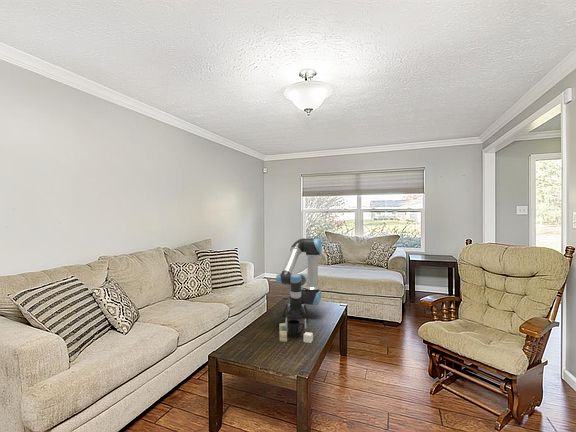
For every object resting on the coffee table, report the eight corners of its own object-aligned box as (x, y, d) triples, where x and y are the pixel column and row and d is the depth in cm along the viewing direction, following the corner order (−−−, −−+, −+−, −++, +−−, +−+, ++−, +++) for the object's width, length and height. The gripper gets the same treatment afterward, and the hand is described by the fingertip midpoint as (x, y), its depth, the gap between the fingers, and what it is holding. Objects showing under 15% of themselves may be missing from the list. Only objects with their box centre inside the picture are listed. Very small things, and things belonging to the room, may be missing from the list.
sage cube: (279, 330, 220) (279, 323, 219) (285, 329, 221) (285, 322, 221) (281, 332, 215) (281, 326, 215) (287, 332, 216) (287, 325, 216)
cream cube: (305, 339, 204) (305, 331, 204) (312, 340, 202) (312, 332, 202) (303, 342, 199) (303, 334, 199) (310, 343, 197) (310, 335, 197)
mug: (301, 339, 203) (301, 325, 203) (285, 336, 209) (285, 322, 209) (306, 334, 211) (306, 321, 211) (291, 332, 216) (291, 318, 216)
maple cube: (279, 338, 205) (279, 331, 205) (286, 338, 205) (286, 331, 205) (279, 341, 200) (279, 334, 200) (287, 341, 200) (287, 334, 200)
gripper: (277, 297, 207) (277, 328, 207) (313, 299, 204) (313, 330, 204) (279, 295, 215) (279, 324, 215) (313, 296, 211) (314, 326, 211)
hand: (295, 327), depth 209 cm, fingers open, 13 cm apart
